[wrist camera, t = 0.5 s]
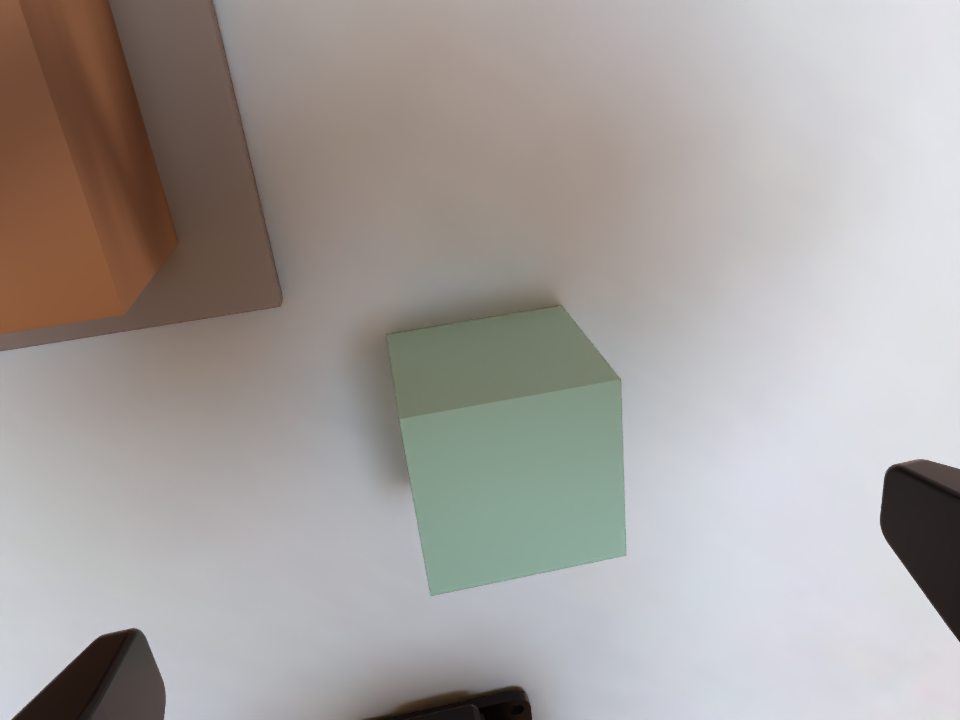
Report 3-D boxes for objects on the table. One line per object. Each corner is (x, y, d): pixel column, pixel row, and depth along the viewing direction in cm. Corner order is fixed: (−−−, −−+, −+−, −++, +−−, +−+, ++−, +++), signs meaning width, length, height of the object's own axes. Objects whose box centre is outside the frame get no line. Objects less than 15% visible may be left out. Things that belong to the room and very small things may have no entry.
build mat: (282, 298, 19) (280, 306, 19) (-125, 363, 18) (-139, 373, 18) (175, -156, 15) (169, -163, 15) (-363, -108, 14) (-391, -114, 14)
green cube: (570, 453, 23) (626, 555, 19) (412, 483, 23) (430, 595, 18) (560, 304, 21) (621, 379, 16) (386, 333, 20) (398, 419, 16)
